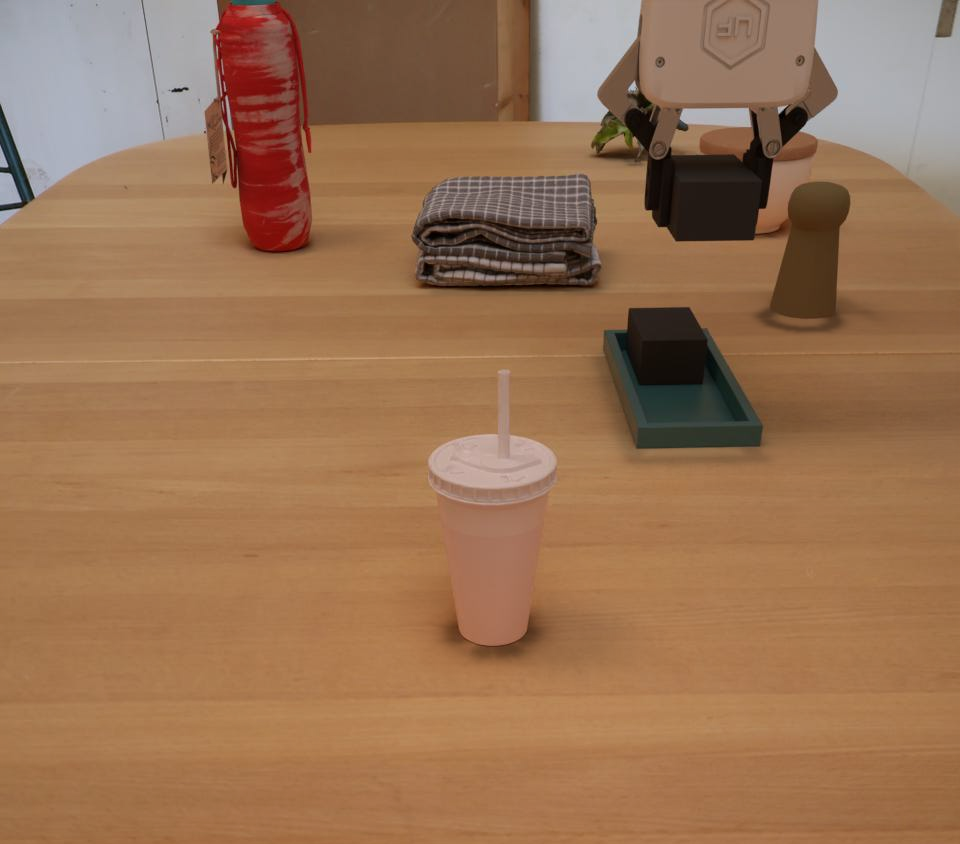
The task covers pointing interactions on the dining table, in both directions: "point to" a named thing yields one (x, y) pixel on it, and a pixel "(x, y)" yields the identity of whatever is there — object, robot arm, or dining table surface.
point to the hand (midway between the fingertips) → (703, 218)
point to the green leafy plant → (616, 127)
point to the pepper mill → (811, 252)
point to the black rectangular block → (713, 199)
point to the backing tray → (683, 404)
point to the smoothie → (493, 523)
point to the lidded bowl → (786, 169)
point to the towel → (507, 232)
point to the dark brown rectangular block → (666, 346)
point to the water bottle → (262, 122)
